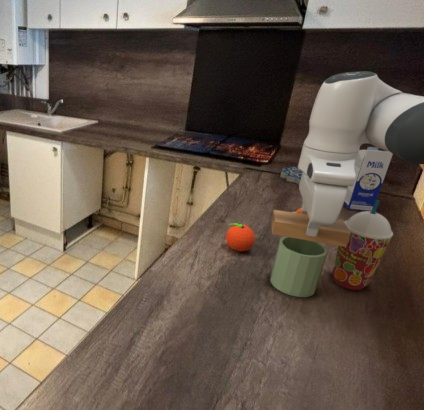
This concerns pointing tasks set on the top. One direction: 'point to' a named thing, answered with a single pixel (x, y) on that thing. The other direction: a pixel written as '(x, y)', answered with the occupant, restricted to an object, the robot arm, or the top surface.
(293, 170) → the decorative tile
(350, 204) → the milk carton
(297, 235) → the wooden block
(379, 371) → the top surface
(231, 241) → the clementine
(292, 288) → the cup
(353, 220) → the smoothie
